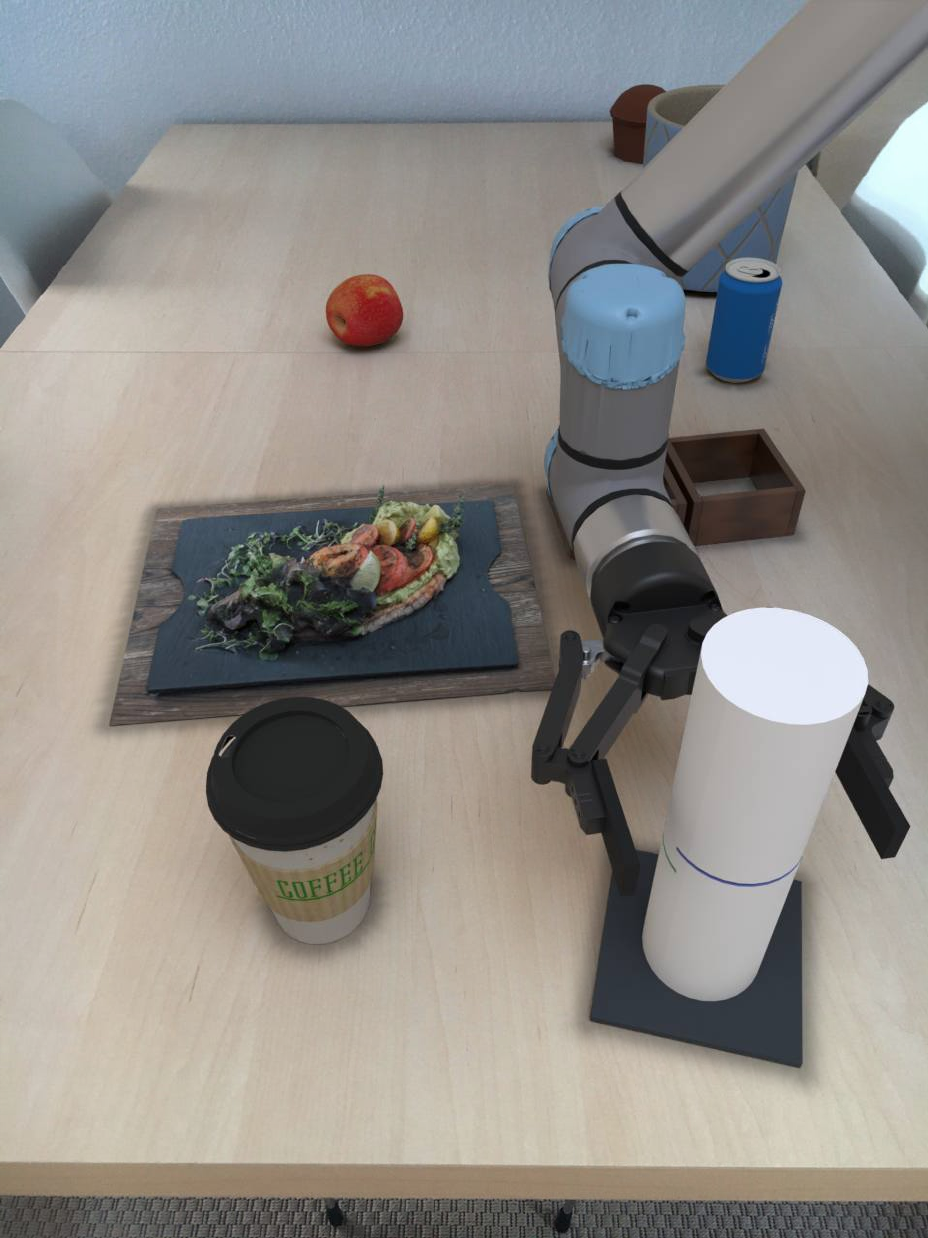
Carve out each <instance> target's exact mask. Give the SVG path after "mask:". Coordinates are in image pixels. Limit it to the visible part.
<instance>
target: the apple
mask: <svg viewBox="0 0 928 1238" xmlns="http://www.w3.org/2000/svg"><path fill="white" fill-rule="evenodd" d="M325 318H326V319H325V320H326V322H327V325H328V327H329V329H330V330H331V332H332V333H333V335H334V336H335V337H336V338H337V339H339V341H340V342H342V343H344V344H346V345H347V346H351V347H371V346H374V345H377V346H378V345H380V344H382V343H384V342H385V343H386V342H387V341H388V340H390V339H392V337H393V336H394V335H395V334H397V333H398V331H399V330H400V329H401V327H402V324H403V321H404V307H403V305H402V302H401V299H400V298H399V295H398V293H397V291H396V289H395V288H394V286H393V285H392V284H391V282H390V281H388V279H386V278H385V277H382V276H380V275H378V274H372V273H364V274H357V275H354V276H351V277H349V278H346V279H345V280H343V281H341V282H340V283H338V285H337V286H336V287H335V288H333V290H332V291H331V292H330V294H329V296H328V298H327V301H326V304H325Z"/></svg>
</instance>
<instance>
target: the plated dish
mask: <svg viewBox="0 0 928 1238" xmlns="http://www.w3.org/2000/svg"><path fill="white" fill-rule="evenodd" d="M385 488H386V486H385V485H384V484H383V485H382V487H380V488H379V490H378V493H377V492H376V493H375V492H374V493H361V494H350V495H349V494H345V495H332V496H320V497H319V496H318V497H315V496H314V497H302V498H288V499H287V498H286V499H273V500H272V499H271V500H257V501H242V502H241V501H240V502H229V503H228V502H227V503H214V504H212V503H211V504H200V505H199V504H197V505H188V506H187V505H184V506H169V507H168V506H167V507H166V506H165V507H157V508H156V511H155V515H154V519H153V524H152V529H151V533H150V536H149V542H148V545H147V551H146V555H145V560H144V563H143V568H142V573H141V578H140V583H139V586H138V587H139V588H138V592H137V595H136V600H135V606H134V609H133V613H132V614H133V615H132V619H131V623H130V627H129V629H130V630H129V633H128V638H127V642H126V645H125V647H126V648H125V652H124V656H123V660H122V664H121V670H120V674H119V679H118V683H117V688H116V691H115V692H116V693H115V697H114V701H113V706H112V710H111V714H110V718H109V723H108V726H119V725H120V726H121V725H122V726H123V725H133V724H145V723H155V722H157V723H158V722H167V721H168V722H169V721H180V720H192V719H204V718H216V717H226V716H227V717H229V716H238V715H240V716H242V715H243V714H245V713H247V712H248V711H250V710H252V709H254V708H255V707H257V706H260V705H262V704H265V703H267V702H270V701H274V700H278V699H282V698H291V697H313V698H318V699H323V700H327V701H329V702H332V703H335V704H337V705H339V706H341V707H346V706H347V707H348V706H361V705H370V704H372V705H373V704H382V703H394V702H407V701H419V700H421V701H422V700H433V699H445V698H455V697H456V698H457V697H467V696H470V697H471V696H481V695H494V694H505V693H510V692H514V691H517V690H518V691H520V692H529V691H541V690H543V691H544V690H552V689H553V686H554V683H555V680H556V675H555V671H554V666H553V662H552V657H551V653H550V648H549V644H548V640H547V639H548V638H547V634H546V630H545V626H544V625H545V624H544V620H543V616H542V611H541V606H540V602H539V597H538V593H537V588H536V585H535V579H534V576H533V571H532V566H531V561H530V557H529V552H528V548H527V543H526V538H525V533H524V529H523V524H522V520H521V516H520V515H521V514H520V512H519V507H518V506H519V505H518V501H517V497H516V493H515V488H514V484H513V483H511V484H497V485H495V484H494V485H480V486H468V487H466V486H465V487H450V488H435V489H423V490H422V489H421V490H406V491H389V492H385ZM252 620H253V621H252ZM255 620H256V621H255ZM247 621H252V623H253V624H251V625H249V626H248V627H247V628H245V629H242V630H240V632H239V631H238V630H239V629H241V628H243V627H245V626H246V623H247Z"/></svg>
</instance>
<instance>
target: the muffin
mask: <svg viewBox="0 0 928 1238" xmlns="http://www.w3.org/2000/svg"><path fill="white" fill-rule="evenodd" d="M667 91H668V90H665V89H664V88H663V87H661V86H659V85H655V84H649V83H647V84H644V83H643V84H638V85H633V86H631V87H629V88H628V89H626V90H624V91H623V92H622V93H620V95H619V96H618V97H617V98H616V100H615V101H614V103H613V104H612V105H611V107H610V109H609V114H610V118H612V119H611V120H612V135H613V150H614V152H613V153H614V157H616V158H618V159H620V160H621V161H624V162H631V163H636V164H637V163H638V164H643V160H644V147H645V134H646V121H647V108H648V104H649V102H650V101H651V100H652V99H653V98H654V97H656V96H658V95H660V94H662V93H664V92H667Z"/></svg>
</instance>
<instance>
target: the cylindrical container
mask: <svg viewBox="0 0 928 1238" xmlns="http://www.w3.org/2000/svg"><path fill="white" fill-rule="evenodd" d="M868 684H869V670H868V666H867V664H866V661H865V658H864V656H863V655H862V654H861V652H860V650H859V648H858V647H857V645H855V644H854V642H852V640H851V639H850V638H849V637H848V636H847V635H845V634H844V633H843V632H841V631H840V630H839V629H838V628H836V627H835V626H833V625H831V624H829V623H828V622H826V621H825V620H822V619H820V618H817V617H816V616H813V615H811V614H808V613H804V612H801V611H797V610H794V609H788V608H781V607H774V608H766V607H756V608H747V609H743V610H740V611H735V612H733V613H731V614H729V615H728V616H727V617H725V618H723V619H721V620H720V621H719V622H717V623H716V624H715V625H714V626H713V627H712V628H711V629H710V630H709V632H708V633H707V634H706V637H705V639H704V641H703V643H702V648H701V653H700V657H699V662H698V667H697V672H696V677H695V682H694V686H693V691H692V695H690V696H691V697H690V702H689V707H688V711H687V716H686V721H685V725H684V731H683V734H682V735H683V736H682V740H681V745H680V750H679V753H678V754H679V755H678V759H677V764H676V769H675V773H674V779H673V783H672V788H671V793H670V798H669V802H668V808H667V813H666V816H665V817H666V818H665V822H664V828H663V831H662V832H663V833H662V837H661V842H660V847H659V851H658V854H659V856H658V861H657V865H656V870H655V875H654V880H653V885H652V889H651V894H650V899H649V904H648V909H647V913H646V918H645V923H644V928H643V935H642V941H643V950H644V953H645V956H646V959H647V961H648V963H649V965H650V967H651V969H652V970H653V971H654V973H655V974H656V975H657V977H658V978H659V979H660V980H661V981H662V982H663V983H665V984H666V985H667V986H668V987H670V988H671V989H673V990H674V991H676V992H677V993H679V994H682V995H684V996H686V997H689V998H692V999H696V1000H701V1001H719V1000H726V999H729V998H731V997H734V996H736V995H738V994H739V993H741V992H742V991H744V990H745V989H746V988H747V987H748V986H749V985H750V984H751V983H752V981H753V980H754V978H755V976H756V975H757V972H758V970H759V967H760V965H761V962H762V959H763V957H764V954H765V952H766V949H767V947H768V944H769V941H770V939H771V936H772V934H773V931H774V928H775V926H776V923H777V921H778V918H779V916H780V913H781V910H782V908H783V905H784V903H785V900H786V897H787V895H788V892H789V890H790V887H791V884H792V882H793V880H795V877H796V875H797V871H798V868H799V866H800V863H801V861H802V858H803V856H804V853H805V851H806V849H807V845H808V842H809V840H810V838H811V835H812V832H813V830H814V827H815V825H816V822H817V820H818V818H819V815H820V813H821V809H822V807H823V804H824V802H825V799H826V797H827V794H828V792H829V788H830V786H831V783H832V781H833V778H834V775H835V774H836V773H835V771H836V768H837V766H838V763H839V760H840V758H841V755H842V753H843V750H844V747H845V745H846V742H847V740H848V737H849V735H850V732H851V729H852V727H853V724H854V722H855V719H856V716H857V714H858V711H859V709H860V706H861V703H862V701H863V698H864V696H865V693H866V689H867V685H868Z"/></svg>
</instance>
